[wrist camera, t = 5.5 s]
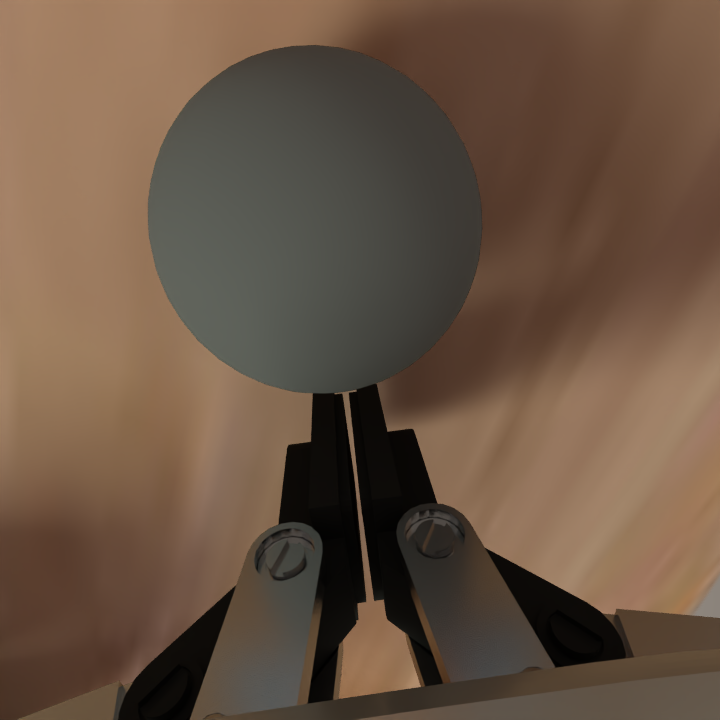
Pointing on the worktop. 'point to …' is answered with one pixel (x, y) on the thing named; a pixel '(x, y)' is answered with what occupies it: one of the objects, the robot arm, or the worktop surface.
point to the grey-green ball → (314, 219)
